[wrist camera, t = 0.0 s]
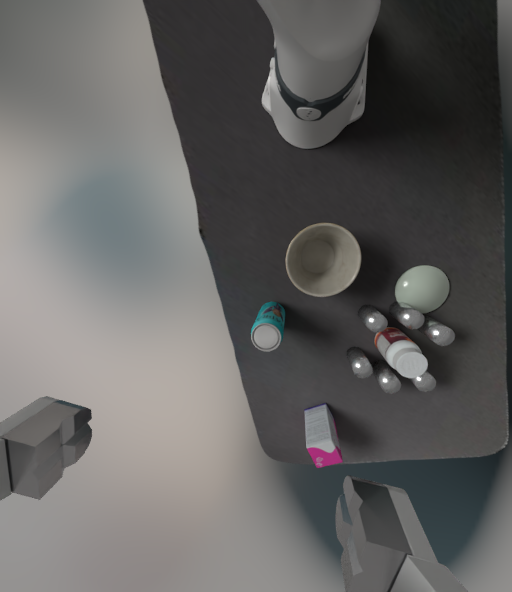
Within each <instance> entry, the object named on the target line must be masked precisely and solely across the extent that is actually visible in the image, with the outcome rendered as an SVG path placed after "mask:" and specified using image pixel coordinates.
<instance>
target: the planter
mask: <svg viewBox="0 0 512 592" xmlns="http://www.w3.org/2000/svg"><path fill="white" fill-rule="evenodd" d="M360 266H361V250H360V247H359V244H358V242H357V240H356V239H355V237H354V236H353V235H352V234H351V233H350V232H349V231H348V230H347V229H345V228H343V227H342V226H339V225H336V224H332V223H318V224H314V225H311V226H309V227H307V228H305V229H303V230H302V231H301V232H299V233H298V234H297V235H296V236H295V237H294V239H293V240H292V242H291V243H290V245H289V247H288V250H287V254H286V270H287V273H288V276H289V278H290V280H291V281H292V283H293V284H294V285H295V286H296V287H297V288H298V289H299V290H301V291H302V292H304V293H306V294H308V295H311V296H316V297H327V296H332V295H335V294H338V293H340V292H342V291H343V290H345V289H346V288H347V287H348V286H350V285H351V283H352V282H353V281H354V280H355V278H356V276H357V275H358V272H359V270H360Z"/></svg>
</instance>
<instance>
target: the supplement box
mask: <svg viewBox="0 0 512 592" xmlns="http://www.w3.org/2000/svg"><path fill="white" fill-rule="evenodd" d="M305 430H306V448H307V450H308V451H309V453H310V455H311V457H312V459H313V461H314V463H315V465H316V466H317V468H320V467H324V466H328V465H332V464H336V463H341V462H343V460H342V455H341V450H340V445H339V440H338V435H337V430H336V425H335V420H334V418H333V416H332V414H331V412H330V410H329V408H328V406H327V404H326V403H323V404H320V405H317V406H314V407H311V408H308V409H305Z"/></svg>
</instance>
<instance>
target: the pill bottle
mask: <svg viewBox="0 0 512 592" xmlns="http://www.w3.org/2000/svg"><path fill="white" fill-rule="evenodd" d="M375 345H376V347H377V349H378V350H379V351H380V353H381V354H382V355H383V357H384V358H385V359H386V361H387V362H388V364H389V365H390V366H391V367H392V368H394V369H396V370H397V371H398V372H399V373H400V374H401V375H402V376H404V377H407V378H416V377H419V376H421V375H422V374H423V373H424V372H425V371H426V369H427V367H428V362H427V359H426V358H425V356H424V355H423V354H422V352H421V350H420V348H419V347H418V346H417V345H416V344H415V343H414V342H413V341H412V340H411V339H410V338H408V337H407V336H406V335H405V334H404V333H403V332H402V331H400V330H399V329H397V328H394V327H386V329H385V330H384V331H382V332H379V333H377V334H376V336H375Z"/></svg>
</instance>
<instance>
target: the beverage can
mask: <svg viewBox="0 0 512 592" xmlns="http://www.w3.org/2000/svg"><path fill="white" fill-rule="evenodd" d="M284 323H285V310H284V308H283V307H282V306H281V305H280V304H279V303H276V302H268V303H266V304H264V305H263V306H262V307H261V309H260V311H259V314H258V316H257V318H256V320H255V323H254V325H253V327H252V330H251V339H252V342H253V344H254V345H255V347H257V348H258V349H259V350H262V351H272V350H274V349H276V348H277V347H278V346H279V344H280V343H281V342H282V339H283V333H284Z"/></svg>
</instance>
